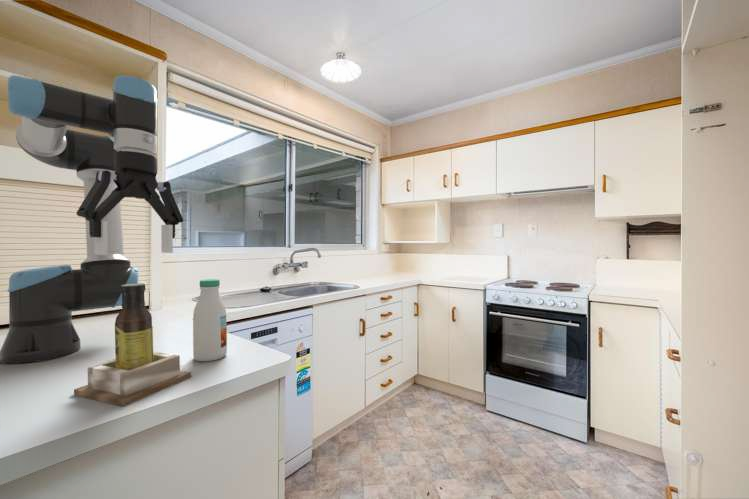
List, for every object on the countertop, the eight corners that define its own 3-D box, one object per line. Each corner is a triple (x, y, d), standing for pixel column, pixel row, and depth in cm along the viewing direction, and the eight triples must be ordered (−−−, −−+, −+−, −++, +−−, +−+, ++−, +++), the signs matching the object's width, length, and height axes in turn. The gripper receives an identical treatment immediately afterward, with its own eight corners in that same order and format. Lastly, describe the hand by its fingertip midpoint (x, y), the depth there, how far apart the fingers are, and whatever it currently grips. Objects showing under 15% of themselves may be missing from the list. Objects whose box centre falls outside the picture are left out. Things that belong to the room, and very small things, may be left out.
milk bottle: (213, 363, 80) (212, 281, 80) (186, 361, 81) (185, 281, 81) (233, 353, 87) (232, 278, 87) (207, 351, 89) (207, 278, 89)
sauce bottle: (124, 376, 69) (123, 282, 69) (158, 373, 71) (157, 281, 71) (109, 389, 63) (107, 286, 63) (146, 385, 65) (145, 285, 65)
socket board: (74, 394, 63) (73, 368, 63) (146, 368, 76) (146, 347, 76) (122, 406, 58) (122, 378, 58) (191, 376, 71) (190, 354, 71)
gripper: (76, 134, 57) (77, 256, 57) (199, 165, 80) (199, 252, 81) (51, 138, 59) (52, 255, 60) (177, 168, 83) (177, 251, 83)
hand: (137, 253), depth 70 cm, fingers open, 13 cm apart
